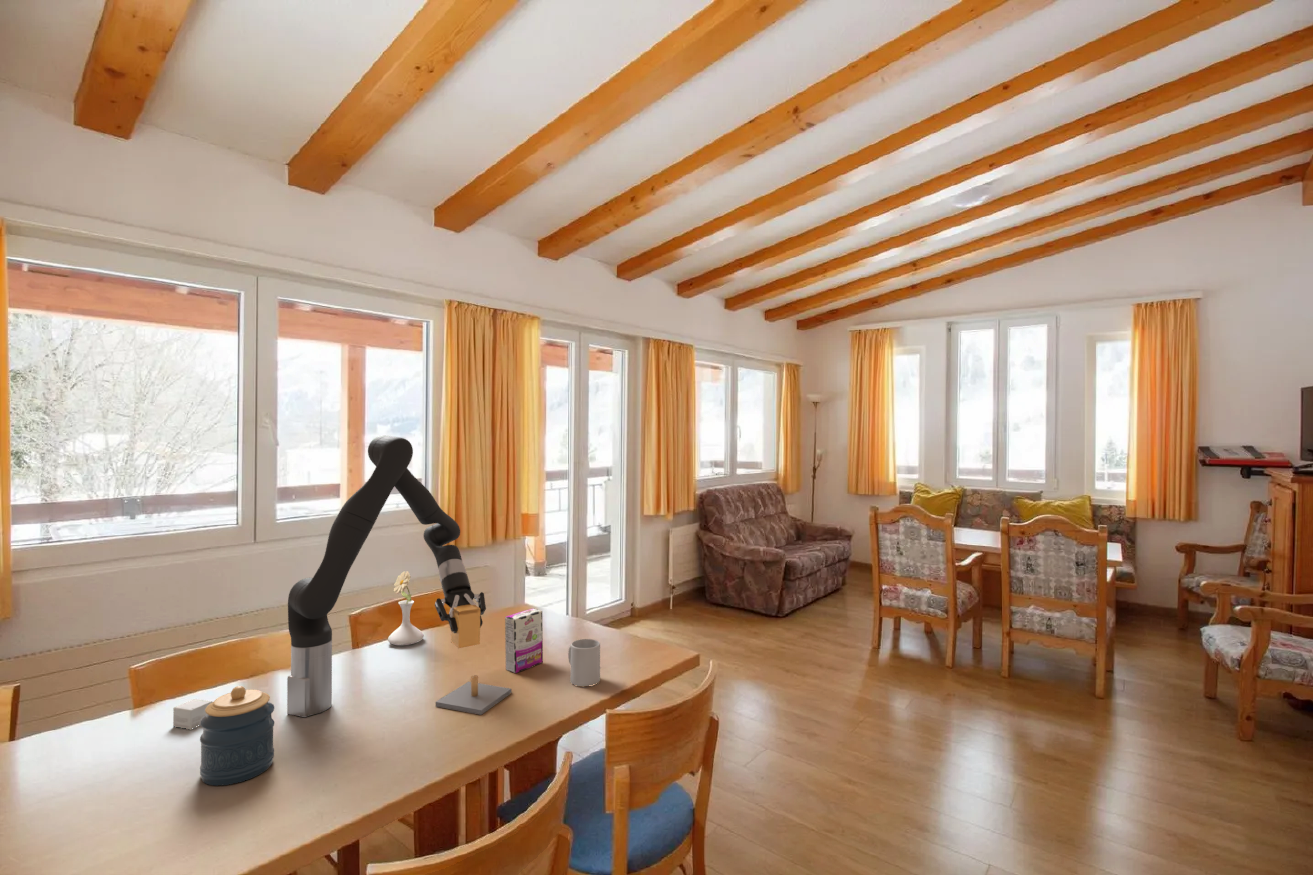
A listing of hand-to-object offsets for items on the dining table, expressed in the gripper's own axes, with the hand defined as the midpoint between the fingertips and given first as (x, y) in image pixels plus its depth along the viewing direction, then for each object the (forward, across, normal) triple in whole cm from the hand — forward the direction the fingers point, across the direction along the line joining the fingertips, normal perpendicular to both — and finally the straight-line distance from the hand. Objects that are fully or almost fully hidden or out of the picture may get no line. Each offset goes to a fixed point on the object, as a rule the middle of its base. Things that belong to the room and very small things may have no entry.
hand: (467, 629), depth 171 cm
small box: (-2, -61, +27) cm, 66 cm away
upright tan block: (+2, 0, +4) cm, 5 cm away
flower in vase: (-23, -3, +47) cm, 52 cm away
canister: (+20, -53, +5) cm, 57 cm away
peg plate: (+17, 0, +7) cm, 18 cm away
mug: (+20, +30, +4) cm, 36 cm away
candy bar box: (+7, +20, +17) cm, 27 cm away
